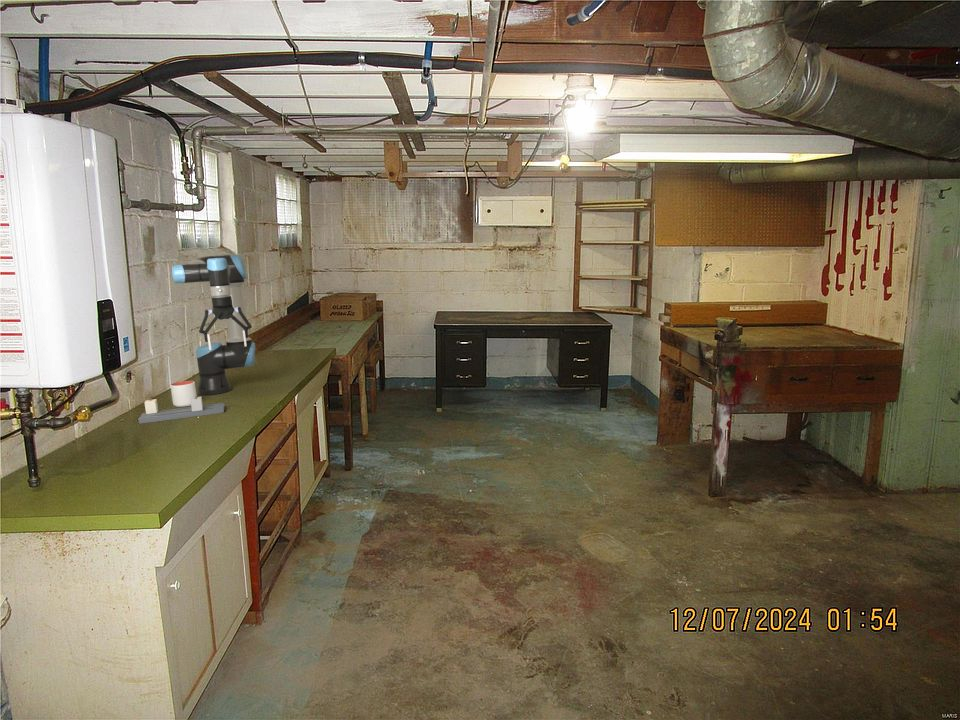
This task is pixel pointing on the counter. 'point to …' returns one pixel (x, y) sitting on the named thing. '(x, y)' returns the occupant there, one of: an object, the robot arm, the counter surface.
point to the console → (181, 413)
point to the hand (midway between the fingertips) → (228, 347)
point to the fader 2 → (196, 404)
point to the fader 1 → (151, 406)
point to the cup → (183, 393)
